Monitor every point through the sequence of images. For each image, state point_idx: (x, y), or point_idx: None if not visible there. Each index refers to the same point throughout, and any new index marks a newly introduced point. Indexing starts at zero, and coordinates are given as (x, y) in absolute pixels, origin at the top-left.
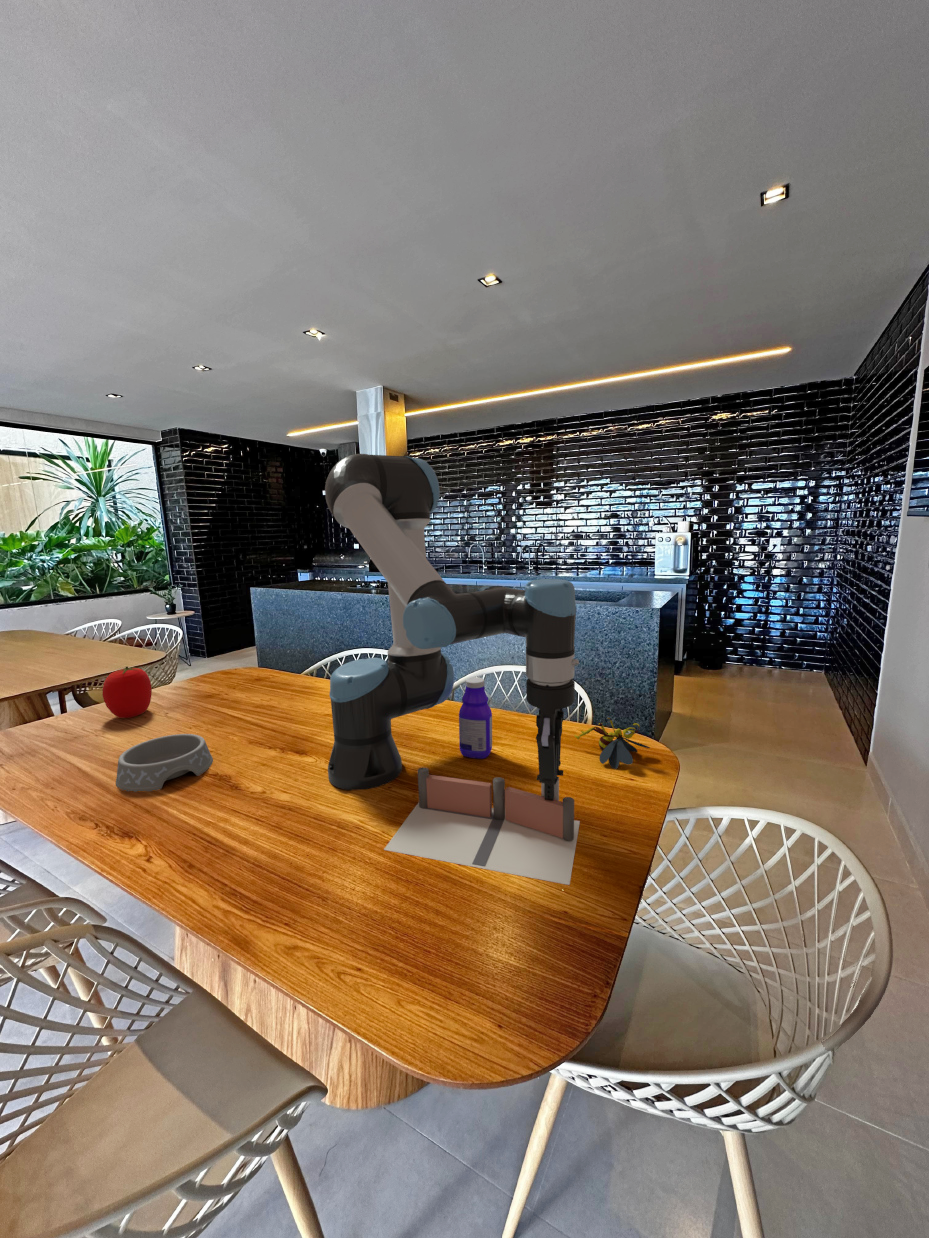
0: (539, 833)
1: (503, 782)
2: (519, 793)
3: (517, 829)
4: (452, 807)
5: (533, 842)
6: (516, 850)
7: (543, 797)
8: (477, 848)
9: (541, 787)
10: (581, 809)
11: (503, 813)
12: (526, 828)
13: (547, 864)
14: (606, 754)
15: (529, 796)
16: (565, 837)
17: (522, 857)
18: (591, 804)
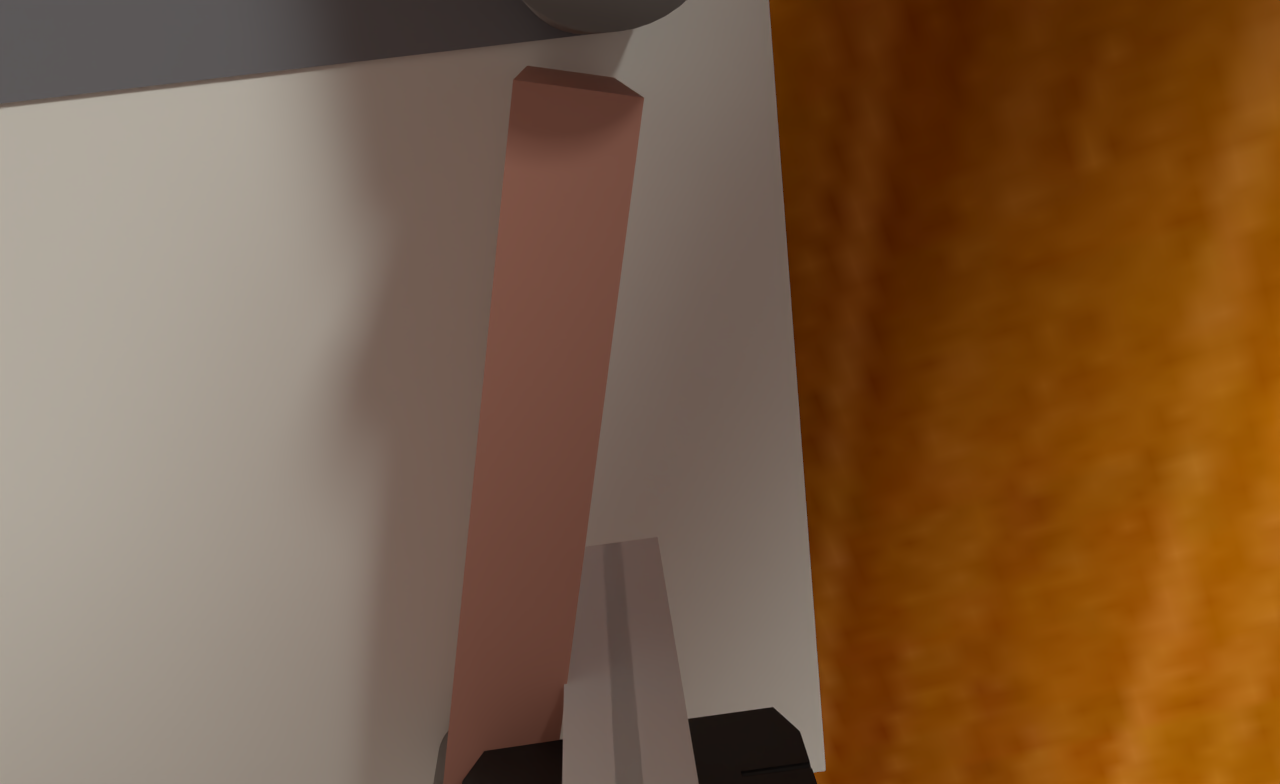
0: (467, 488)
1: (570, 26)
2: (501, 359)
3: (433, 253)
4: None
5: (290, 479)
6: (79, 363)
7: (539, 718)
8: None
9: (563, 774)
10: (1062, 715)
11: (555, 27)
12: None
13: (38, 686)
14: None
15: (478, 532)
16: (437, 765)
17: (4, 454)
18: (1175, 775)
